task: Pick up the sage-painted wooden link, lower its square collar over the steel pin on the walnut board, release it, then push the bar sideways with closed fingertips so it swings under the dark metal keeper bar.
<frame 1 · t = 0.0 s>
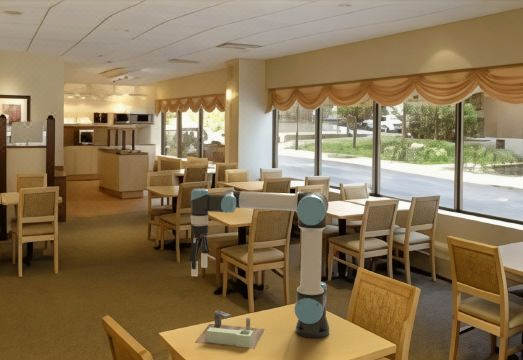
hand: (199, 271, 236), 28 cm above the table, fingers open, 13 cm apart
pintle board: (230, 337, 234), on the table
link: (208, 340, 229), point 1 cm above the table, touching pintle board
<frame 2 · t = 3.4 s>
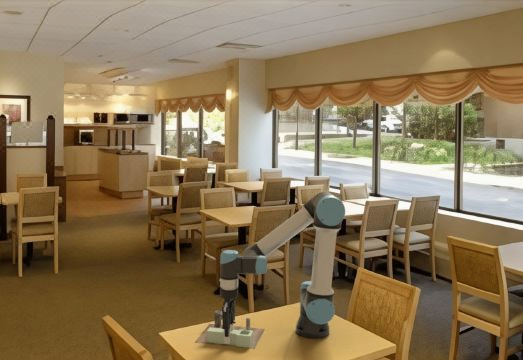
hand: (228, 341, 227), 2 cm above the table, fingers closed on link, 4 cm apart
link: (208, 340, 229), point 1 cm above the table, touching gripper, pintle board
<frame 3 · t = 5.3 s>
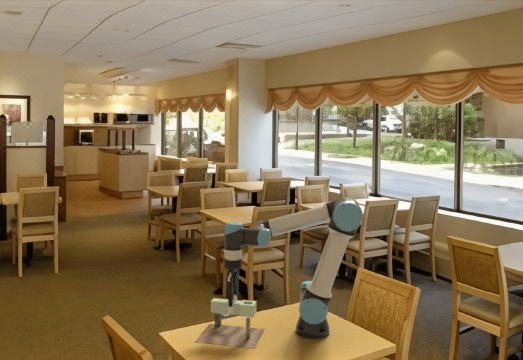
hand: (232, 311, 231), 13 cm above the table, fingers closed on link, 4 cm apart
link: (212, 310, 233), point 12 cm above the table, touching gripper
when the fingers open (3 cm above the table, at t = 7.1 s): link drops 1 cm, resting on pintle board.
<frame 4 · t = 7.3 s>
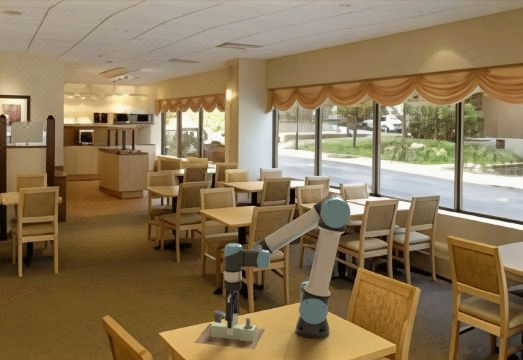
hand: (232, 331, 232), 4 cm above the table, fingers open, 7 cm apart
link: (212, 334, 234), point 1 cm above the table, touching pintle board
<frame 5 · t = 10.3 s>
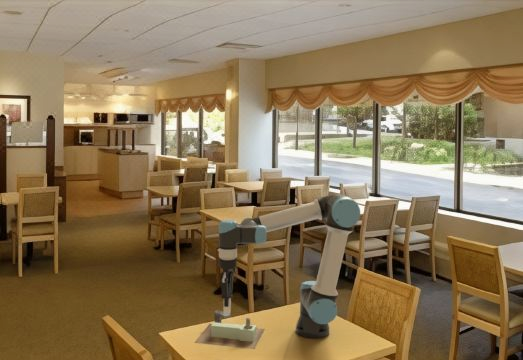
hand: (226, 313, 223), 15 cm above the table, fingers closed
nothing on the table moved.
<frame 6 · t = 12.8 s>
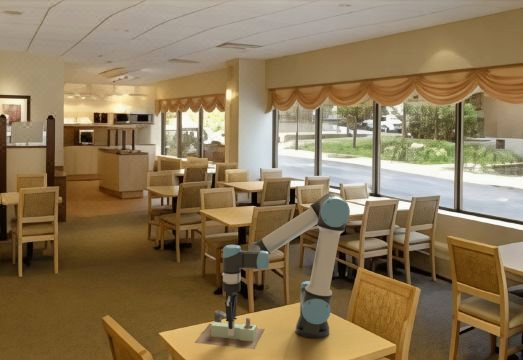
hand: (231, 335, 230), 3 cm above the table, fingers closed
link: (212, 334, 235), point 1 cm above the table, touching gripper, pintle board
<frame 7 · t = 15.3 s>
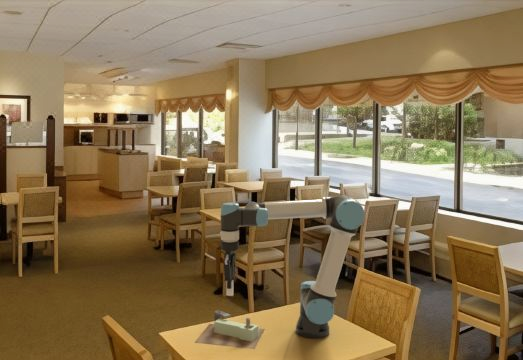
hand: (229, 295, 225), 21 cm above the table, fingers closed
link: (216, 331, 239), point 1 cm above the table, touching pintle board
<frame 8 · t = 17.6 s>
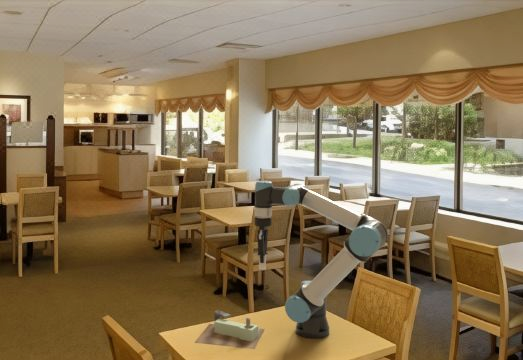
hand: (262, 269, 236), 29 cm above the table, fingers closed
nothing on the table moved.
at the end: link 4.5 cm from the target spot, point 1.0 cm above the table; link tilted 0°; link moved 10.6 cm from its start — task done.
